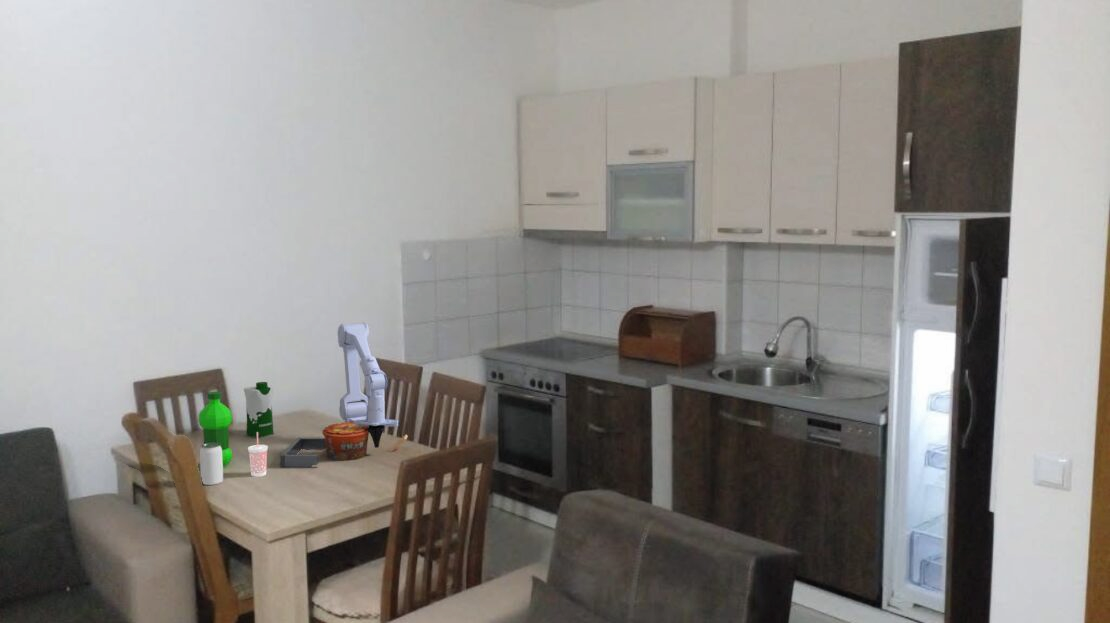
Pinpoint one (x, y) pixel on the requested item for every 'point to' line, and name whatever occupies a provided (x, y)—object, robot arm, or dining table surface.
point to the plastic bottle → (216, 424)
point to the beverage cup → (258, 459)
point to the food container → (346, 441)
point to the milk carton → (259, 409)
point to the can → (211, 463)
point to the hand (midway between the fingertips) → (376, 446)
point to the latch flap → (398, 443)
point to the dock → (301, 461)
